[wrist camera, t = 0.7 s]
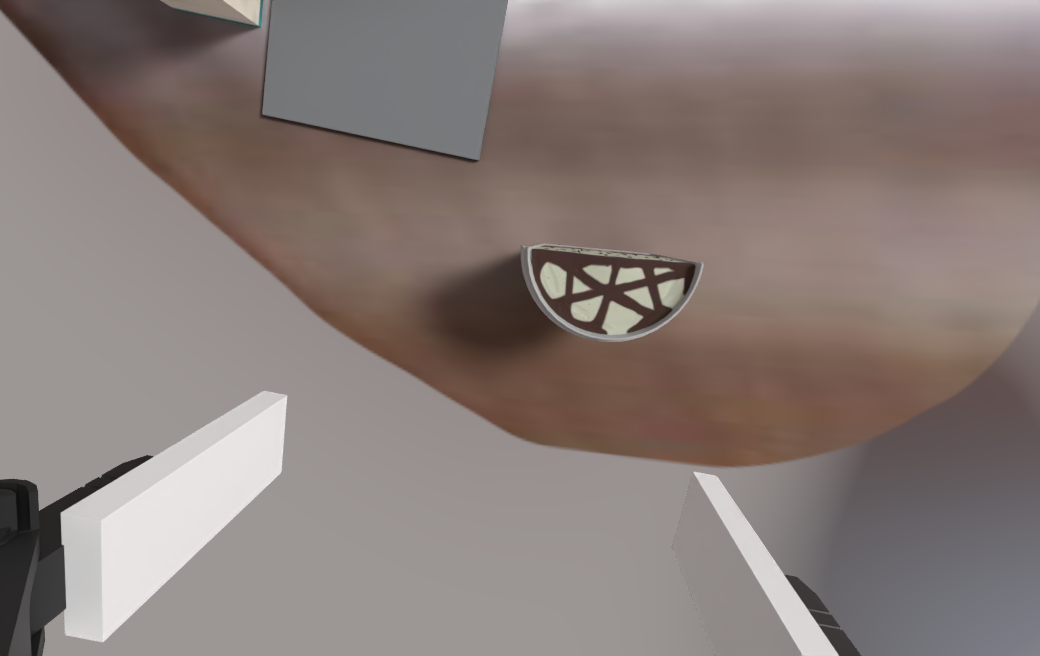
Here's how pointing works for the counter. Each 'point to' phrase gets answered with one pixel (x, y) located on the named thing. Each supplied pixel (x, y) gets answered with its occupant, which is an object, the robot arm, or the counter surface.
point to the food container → (607, 289)
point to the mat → (386, 68)
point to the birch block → (223, 9)
